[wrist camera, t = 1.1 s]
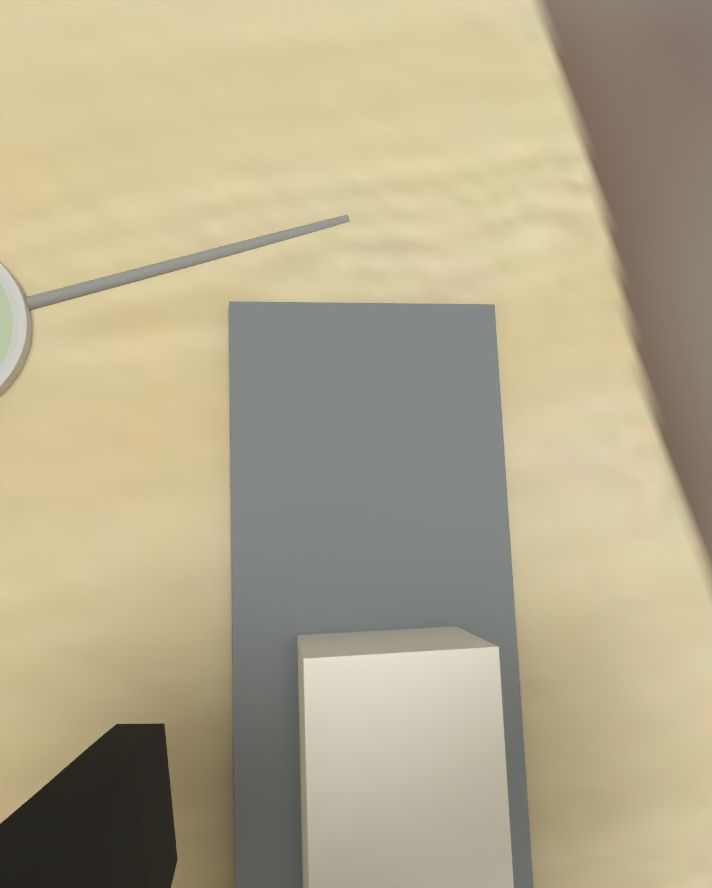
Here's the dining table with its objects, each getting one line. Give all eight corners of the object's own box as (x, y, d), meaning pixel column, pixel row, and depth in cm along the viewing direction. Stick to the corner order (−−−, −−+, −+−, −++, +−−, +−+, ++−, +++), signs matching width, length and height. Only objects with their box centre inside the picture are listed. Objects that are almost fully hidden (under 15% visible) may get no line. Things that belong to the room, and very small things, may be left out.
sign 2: (377, 293, 20) (-153, 444, 17) (373, 302, 21) (-134, 448, 18) (322, 138, 20) (-203, 261, 18) (320, 154, 21) (-183, 274, 18)
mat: (530, 936, 18) (537, 947, 18) (236, 971, 17) (235, 984, 17) (488, 309, 21) (494, 304, 20) (230, 307, 20) (228, 301, 19)
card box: (470, 893, 18) (519, 980, 14) (303, 912, 17) (311, 1007, 14) (456, 626, 19) (498, 646, 15) (296, 635, 18) (303, 658, 15)
